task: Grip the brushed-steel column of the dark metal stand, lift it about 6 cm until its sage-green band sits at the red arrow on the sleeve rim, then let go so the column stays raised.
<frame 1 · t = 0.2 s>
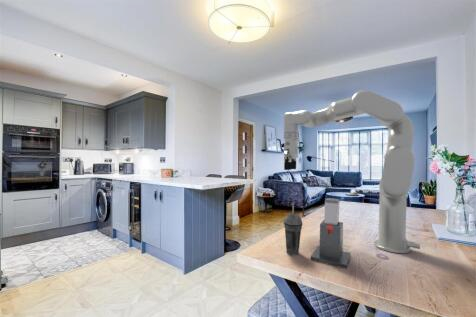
hand: (290, 169, 120), 31 cm above the table, tool pointing down, fingers open, 9 cm apart
stand: (331, 257, 87), on the table
beverage cup: (292, 252, 91), on the table
column: (331, 226, 87), point 12 cm above the table, slide at 0.0 cm
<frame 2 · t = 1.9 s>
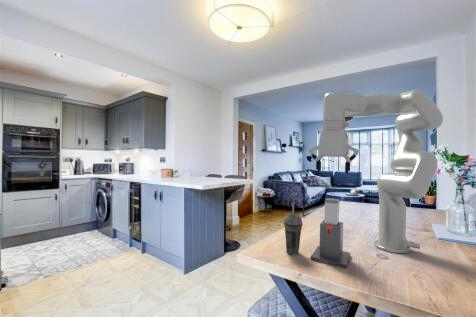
hand: (332, 172, 87), 32 cm above the table, tool pointing down, fingers open, 9 cm apart
nothing on the table moved.
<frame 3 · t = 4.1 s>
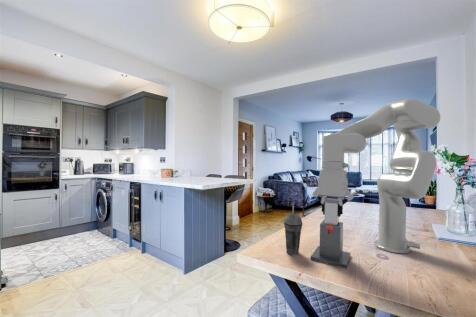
hand: (331, 214, 87), 16 cm above the table, tool pointing down, fingers closed on column, 4 cm apart
column: (331, 226, 87), point 12 cm above the table, slide at 0.0 cm, touching gripper
everything else where it was.
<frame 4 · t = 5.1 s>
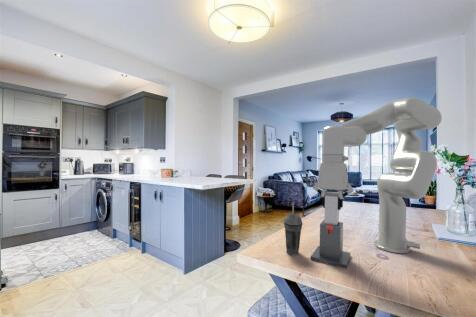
hand: (332, 207, 87), 19 cm above the table, tool pointing down, fingers closed on column, 4 cm apart
column: (331, 220, 87), point 14 cm above the table, slide at 2.5 cm, touching gripper
everything else where it was.
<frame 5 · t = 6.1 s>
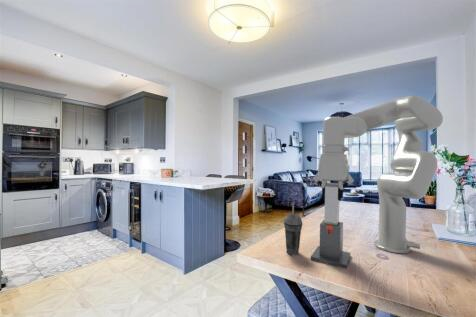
hand: (332, 198, 87), 22 cm above the table, tool pointing down, fingers closed on column, 4 cm apart
column: (332, 210, 87), point 18 cm above the table, slide at 5.9 cm, touching gripper
everything else where it was.
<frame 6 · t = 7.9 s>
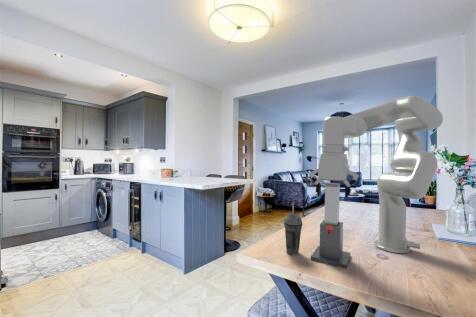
hand: (332, 195, 87), 23 cm above the table, tool pointing down, fingers open, 9 cm apart
column: (332, 210, 87), point 18 cm above the table, slide at 6.0 cm
everything else where it was.
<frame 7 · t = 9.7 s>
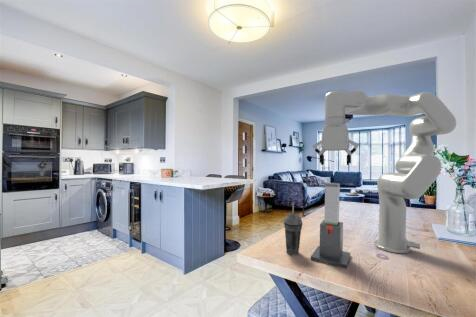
hand: (334, 164, 94), 35 cm above the table, tool pointing down, fingers open, 9 cm apart
nothing on the table moved.
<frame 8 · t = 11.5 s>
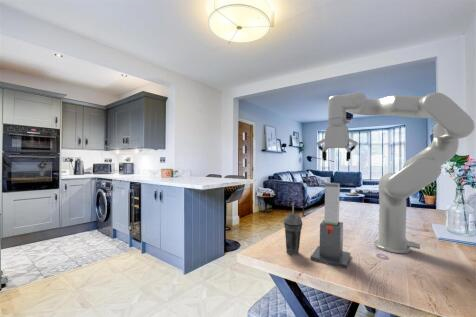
hand: (336, 160, 105), 36 cm above the table, tool pointing down, fingers open, 9 cm apart
nothing on the table moved.
at the end: column slide at 6.0 cm; the gripper is holding nothing; beverage cup moved 0.2 cm from its start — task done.
